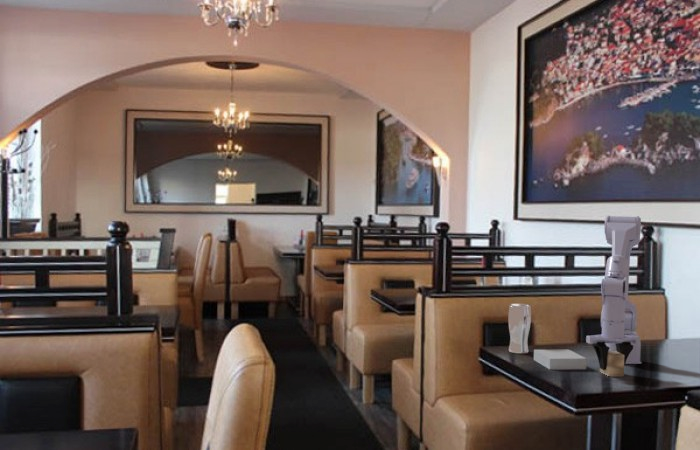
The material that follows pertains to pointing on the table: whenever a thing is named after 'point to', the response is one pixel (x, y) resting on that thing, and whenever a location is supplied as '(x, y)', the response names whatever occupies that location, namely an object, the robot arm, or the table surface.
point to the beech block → (614, 364)
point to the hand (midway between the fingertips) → (611, 369)
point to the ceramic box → (560, 359)
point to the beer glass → (519, 327)
